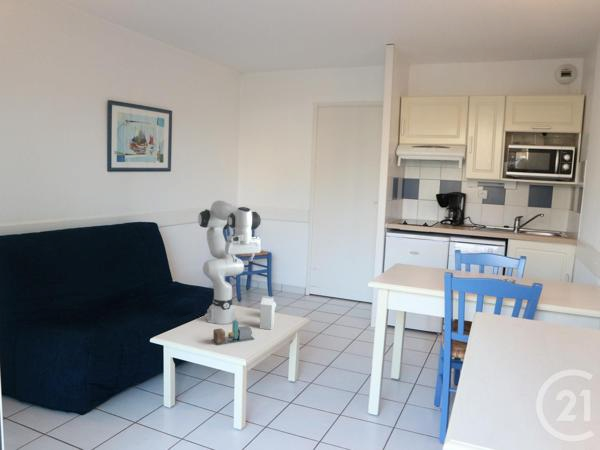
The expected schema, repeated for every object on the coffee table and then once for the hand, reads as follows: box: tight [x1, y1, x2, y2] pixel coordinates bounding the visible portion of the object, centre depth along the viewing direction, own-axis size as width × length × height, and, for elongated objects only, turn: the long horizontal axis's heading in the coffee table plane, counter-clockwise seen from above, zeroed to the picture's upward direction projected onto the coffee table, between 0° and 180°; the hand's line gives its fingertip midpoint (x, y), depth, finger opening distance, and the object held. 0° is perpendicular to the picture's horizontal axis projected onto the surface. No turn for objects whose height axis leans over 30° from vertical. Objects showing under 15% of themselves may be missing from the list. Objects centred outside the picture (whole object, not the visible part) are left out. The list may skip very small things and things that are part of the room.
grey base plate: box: [211, 325, 255, 346], centre depth 265 cm, size 22×8×6 cm, turn 120°
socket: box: [212, 328, 226, 343], centre depth 261 cm, size 4×6×6 cm
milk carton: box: [259, 295, 276, 330], centre depth 288 cm, size 7×7×19 cm
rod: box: [227, 319, 253, 339], centre depth 267 cm, size 13×4×10 cm, turn 120°
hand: (242, 261), depth 265 cm, fingers open, 8 cm apart
